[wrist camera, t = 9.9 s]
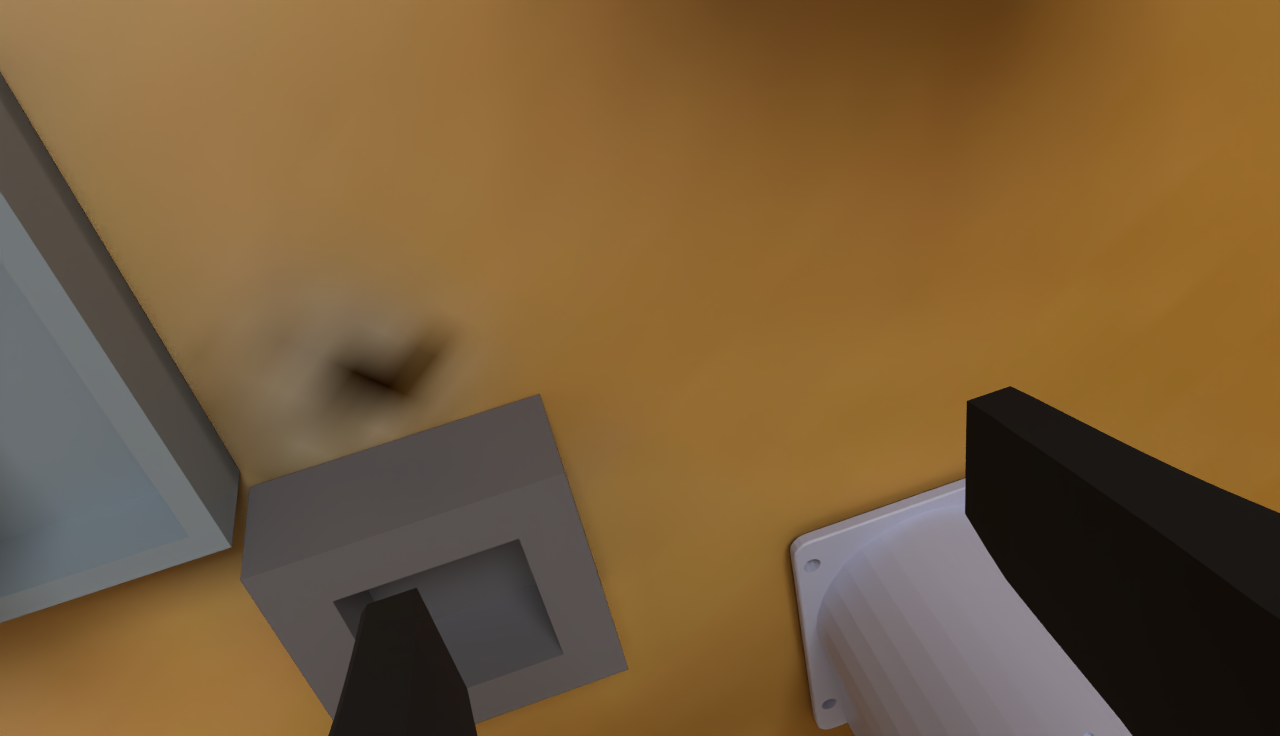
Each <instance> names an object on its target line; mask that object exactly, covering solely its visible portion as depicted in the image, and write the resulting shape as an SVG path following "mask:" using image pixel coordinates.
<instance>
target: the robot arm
mask: <svg viewBox="0 0 1280 736" xmlns="http://www.w3.org/2000/svg"><path fill="white" fill-rule="evenodd" d="M790 554H791V562H792V569H793V576H794V583H795V590H796V597H797V604H798V611H799V618H800V625H801V632H802V639H803V646H804V653H805V660H806V667H807V674H808V681H809V689H810V696H811V703H812V710H813V717H814V719H815V721H816V723H817V725H818V727H819V728H821V729H825V730H828V729H832V728H835V727H837V726H840V725H843V724H846V723H848V724H849V726H850V728H851V730H852V732H853V734H854V736H1280V513H1278V512H1276V511H1273V510H1271V509H1268V508H1266V507H1264V506H1261V505H1259V504H1256V503H1254V502H1252V501H1249V500H1247V499H1245V498H1242V497H1240V496H1237V495H1235V494H1233V493H1230V492H1228V491H1226V490H1223V489H1221V488H1219V487H1216V486H1214V485H1212V484H1210V483H1207V482H1205V481H1203V480H1201V479H1199V478H1196V477H1194V476H1192V475H1190V474H1188V473H1185V472H1183V471H1181V470H1179V469H1177V468H1175V467H1172V466H1170V465H1168V464H1166V463H1164V462H1162V461H1160V460H1158V459H1156V458H1154V457H1151V456H1149V455H1147V454H1145V453H1143V452H1141V451H1139V450H1137V449H1135V448H1133V447H1131V446H1129V445H1127V444H1125V443H1123V442H1121V441H1119V440H1117V439H1115V438H1113V437H1111V436H1109V435H1107V434H1105V433H1103V432H1101V431H1099V430H1097V429H1095V428H1093V427H1091V426H1089V425H1087V424H1085V423H1083V422H1081V421H1079V420H1077V419H1075V418H1073V417H1071V416H1069V415H1067V414H1065V413H1063V412H1061V411H1059V410H1057V409H1055V408H1054V407H1052V406H1050V405H1048V404H1046V403H1044V402H1042V401H1040V400H1038V399H1036V398H1034V397H1032V396H1030V395H1028V394H1026V393H1023V392H1021V391H1019V390H1017V389H1015V388H1013V387H1011V386H1010V387H1007V388H1004V389H1001V390H998V391H995V392H992V393H989V394H986V395H983V396H980V397H977V398H974V399H971V400H969V401H967V422H966V478H964V479H961V480H959V481H956V482H953V483H950V484H947V485H944V486H941V487H938V488H936V489H933V490H930V491H927V492H924V493H921V494H918V495H915V496H913V497H910V498H907V499H904V500H901V501H898V502H895V503H892V504H890V505H887V506H884V507H881V508H878V509H875V510H872V511H869V512H867V513H864V514H861V515H858V516H855V517H852V518H849V519H846V520H844V521H841V522H838V523H835V524H832V525H829V526H826V527H823V528H821V529H818V530H815V531H812V532H809V533H806V534H804V535H802V536H800V537H798V538H797V539H796V540H795V541H794V542H793V544H792V545H791V548H790ZM810 560H811V561H810ZM808 561H809V562H808ZM329 736H477V732H476V727H475V722H474V718H473V713H472V708H471V704H470V699H469V694H468V689H467V687H466V685H465V683H464V681H463V679H462V677H461V675H460V673H459V671H458V669H457V667H456V665H455V663H454V661H453V659H452V657H451V655H450V653H449V651H448V649H447V647H446V645H445V643H444V641H443V639H442V637H441V635H440V633H439V631H438V629H437V627H436V625H435V623H434V621H433V619H432V617H431V615H430V613H429V611H428V609H427V607H426V605H425V603H424V601H423V599H422V597H421V595H420V593H419V591H418V589H417V588H414V589H411V590H408V591H405V592H402V593H399V594H396V595H393V596H390V597H387V598H384V599H381V600H378V601H375V602H372V603H369V604H367V605H366V607H365V608H364V610H363V612H362V613H361V617H360V621H359V626H358V630H357V635H356V639H355V643H354V647H353V651H352V655H351V659H350V663H349V667H348V671H347V675H346V678H345V682H344V686H343V689H342V693H341V696H340V700H339V703H338V707H337V710H336V714H335V717H334V720H333V723H332V726H331V730H330V733H329Z"/></svg>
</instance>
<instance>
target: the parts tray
mask: <svg viewBox="0 0 1280 736" xmlns="http://www.w3.org/2000/svg"><path fill="white" fill-rule="evenodd" d="M239 476H240V471H239V469H238V468H237V466H236V464H235V463H234V461H233V459H232V458H231V456H230V454H229V453H228V451H227V449H226V448H225V446H224V444H223V443H222V441H221V439H220V438H219V436H218V434H217V433H216V431H215V429H214V428H213V426H212V424H211V423H210V421H209V419H208V418H207V416H206V414H205V413H204V411H203V409H202V408H201V406H200V404H199V403H198V401H197V399H196V398H195V396H194V394H193V393H192V391H191V389H190V388H189V386H188V384H187V383H186V381H185V379H184V378H183V376H182V374H181V373H180V371H179V369H178V368H177V366H176V364H175V363H174V361H173V359H172V358H171V356H170V354H169V353H168V351H167V349H166V348H165V346H164V344H163V343H162V341H161V339H160V338H159V336H158V334H157V333H156V331H155V329H154V328H153V326H152V324H151V323H150V321H149V319H148V318H147V316H146V315H145V313H144V311H143V310H142V308H141V306H140V305H139V303H138V301H137V300H136V298H135V296H134V295H133V293H132V291H131V290H130V288H129V286H128V285H127V283H126V281H125V280H124V278H123V276H122V275H121V273H120V271H119V270H118V268H117V266H116V265H115V263H114V261H113V260H112V258H111V256H110V255H109V253H108V251H107V250H106V248H105V246H104V245H103V243H102V241H101V240H100V238H99V236H98V235H97V233H96V231H95V230H94V228H93V226H92V225H91V223H90V221H89V220H88V218H87V216H86V215H85V213H84V211H83V210H82V208H81V206H80V205H79V203H78V201H77V200H76V198H75V196H74V195H73V193H72V191H71V190H70V188H69V186H68V185H67V183H66V181H65V180H64V178H63V176H62V175H61V173H60V171H59V170H58V168H57V166H56V165H55V163H54V162H53V160H52V158H51V157H50V155H49V153H48V152H47V150H46V148H45V147H44V145H43V143H42V142H41V140H40V138H39V137H38V135H37V133H36V132H35V130H34V128H33V127H32V125H31V123H30V122H29V120H28V118H27V117H26V115H25V113H24V112H23V110H22V108H21V107H20V105H19V103H18V102H17V100H16V98H15V97H14V95H13V93H12V92H11V90H10V88H9V87H8V85H7V83H6V82H5V80H4V78H3V77H2V75H1V73H0V623H2V622H5V621H8V620H11V619H14V618H17V617H20V616H23V615H26V614H29V613H32V612H35V611H39V610H42V609H45V608H48V607H51V606H54V605H57V604H60V603H63V602H66V601H69V600H72V599H75V598H78V597H81V596H84V595H87V594H90V593H93V592H97V591H100V590H103V589H106V588H109V587H112V586H115V585H118V584H121V583H124V582H127V581H130V580H133V579H136V578H139V577H142V576H145V575H148V574H151V573H155V572H158V571H161V570H164V569H167V568H170V567H173V566H176V565H179V564H182V563H185V562H188V561H191V560H194V559H197V558H200V557H203V556H206V555H210V554H213V553H216V552H219V551H222V550H225V549H228V548H231V547H232V539H233V530H234V521H235V512H236V503H237V494H238V485H239Z"/></svg>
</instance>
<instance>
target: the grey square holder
mask: <svg viewBox="0 0 1280 736" xmlns="http://www.w3.org/2000/svg"><path fill="white" fill-rule="evenodd" d="M240 581H241V582H242V584H243V585H244V587H245V588H246V590H247V591H248V593H249V594H250V596H251V597H252V599H253V600H254V602H255V603H256V605H257V606H258V608H259V609H260V611H261V612H262V614H263V615H264V617H265V618H266V620H267V621H268V623H269V624H270V626H271V627H272V629H273V630H274V632H275V633H276V635H277V637H278V638H279V640H280V641H281V643H282V644H283V646H284V647H285V649H286V650H287V652H288V653H289V655H290V656H291V658H292V659H293V661H294V662H295V664H296V665H297V667H298V668H299V670H300V671H301V673H302V674H303V676H304V677H305V679H306V680H307V682H308V683H309V685H310V686H311V688H312V689H313V691H314V692H315V694H316V695H317V697H318V698H319V700H320V701H321V703H322V704H323V706H324V707H325V709H326V710H327V712H328V714H329V715H330V717H331V718H332V720H334V717H335V714H336V710H337V707H338V703H339V700H340V696H341V693H342V689H343V686H344V682H345V678H346V675H347V671H348V667H349V663H350V659H351V655H352V651H353V647H354V643H355V639H356V635H357V630H358V626H359V621H360V617H361V613H362V612H363V610H364V608H365V607H366V605H367V604H369V603H372V602H375V601H378V600H381V599H384V598H387V597H390V596H393V595H396V594H399V593H402V592H405V591H408V590H411V589H414V588H417V589H418V591H419V593H420V595H421V597H422V599H423V601H424V603H425V605H426V607H427V609H428V611H429V613H430V615H431V617H432V619H433V621H434V623H435V625H436V627H437V629H438V631H439V633H440V635H441V637H442V639H443V641H444V643H445V645H446V647H447V649H448V651H449V653H450V655H451V657H452V659H453V661H454V663H455V665H456V667H457V669H458V671H459V673H460V675H461V677H462V679H463V681H464V683H465V685H466V687H467V689H468V694H469V699H470V704H471V708H472V713H473V718H474V722H475V724H476V723H479V722H482V721H485V720H487V719H490V718H493V717H496V716H499V715H501V714H504V713H507V712H510V711H513V710H515V709H518V708H521V707H524V706H527V705H530V704H532V703H535V702H538V701H541V700H544V699H546V698H549V697H552V696H555V695H558V694H560V693H563V692H566V691H569V690H572V689H574V688H577V687H580V686H583V685H586V684H588V683H591V682H594V681H597V680H600V679H602V678H605V677H608V676H611V675H614V674H616V673H619V672H622V671H625V670H628V666H627V663H626V660H625V657H624V654H623V650H622V647H621V644H620V641H619V638H618V635H617V632H616V629H615V625H614V622H613V619H612V616H611V613H610V610H609V607H608V604H607V600H606V597H605V594H604V591H603V588H602V585H601V582H600V579H599V576H598V572H597V569H596V566H595V563H594V560H593V557H592V554H591V551H590V548H589V545H588V542H587V539H586V535H585V532H584V529H583V526H582V523H581V520H580V517H579V514H578V511H577V508H576V505H575V502H574V498H573V495H572V492H571V489H570V486H569V483H568V480H567V477H566V474H565V471H564V468H563V465H562V461H561V458H560V455H559V452H558V449H557V446H556V443H555V440H554V437H553V434H552V431H551V428H550V424H549V421H548V418H547V415H546V412H545V409H544V406H543V403H542V400H541V397H540V394H538V395H535V396H532V397H529V398H526V399H522V400H519V401H516V402H513V403H510V404H507V405H504V406H501V407H498V408H494V409H491V410H488V411H485V412H482V413H479V414H476V415H473V416H470V417H466V418H463V419H460V420H457V421H454V422H451V423H448V424H445V425H442V426H438V427H435V428H432V429H429V430H426V431H423V432H420V433H417V434H414V435H410V436H407V437H404V438H401V439H398V440H395V441H392V442H389V443H386V444H382V445H379V446H376V447H373V448H370V449H367V450H364V451H361V452H358V453H354V454H351V455H348V456H345V457H342V458H339V459H336V460H333V461H330V462H326V463H323V464H320V465H317V466H314V467H311V468H308V469H305V470H302V471H298V472H295V473H292V474H289V475H286V476H283V477H280V478H277V479H274V480H271V481H267V482H264V483H261V484H258V485H255V486H252V487H249V496H248V507H247V517H246V527H245V537H244V548H243V558H242V568H241V578H240Z"/></svg>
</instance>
